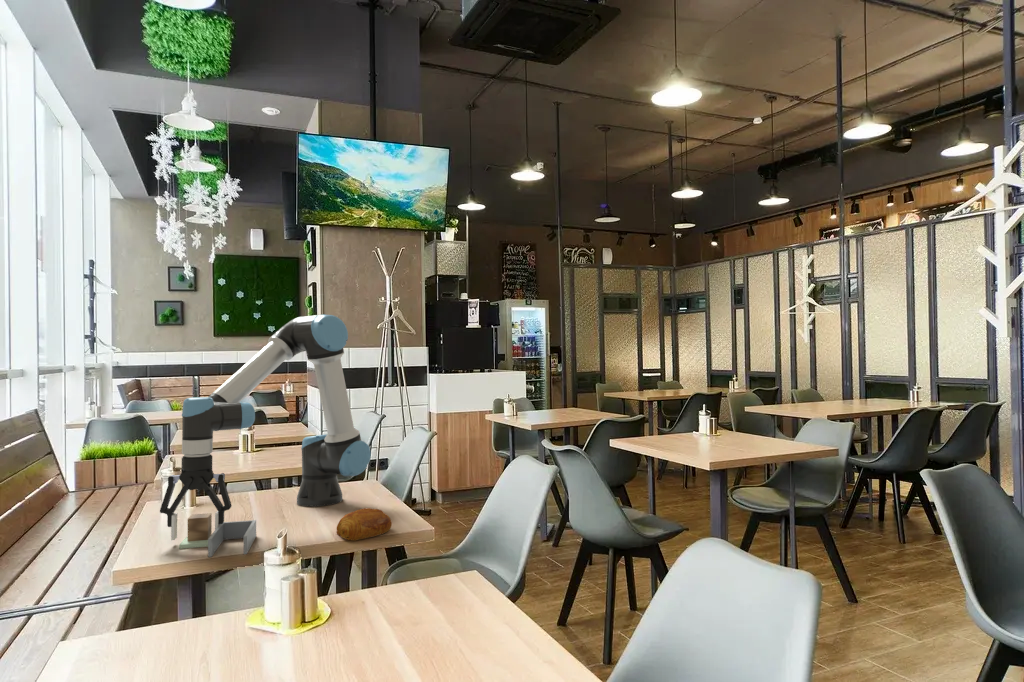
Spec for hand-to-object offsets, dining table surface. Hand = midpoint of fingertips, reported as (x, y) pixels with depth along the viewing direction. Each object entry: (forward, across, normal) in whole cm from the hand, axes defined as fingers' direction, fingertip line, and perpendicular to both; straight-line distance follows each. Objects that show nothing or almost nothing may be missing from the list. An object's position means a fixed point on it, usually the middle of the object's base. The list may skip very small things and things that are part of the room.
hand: (195, 537), depth 175 cm
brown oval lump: (+1, -44, +2) cm, 44 cm away
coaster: (+2, -1, 0) cm, 2 cm away
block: (+1, -1, -1) cm, 2 cm away
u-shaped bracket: (+1, -10, +6) cm, 12 cm away
